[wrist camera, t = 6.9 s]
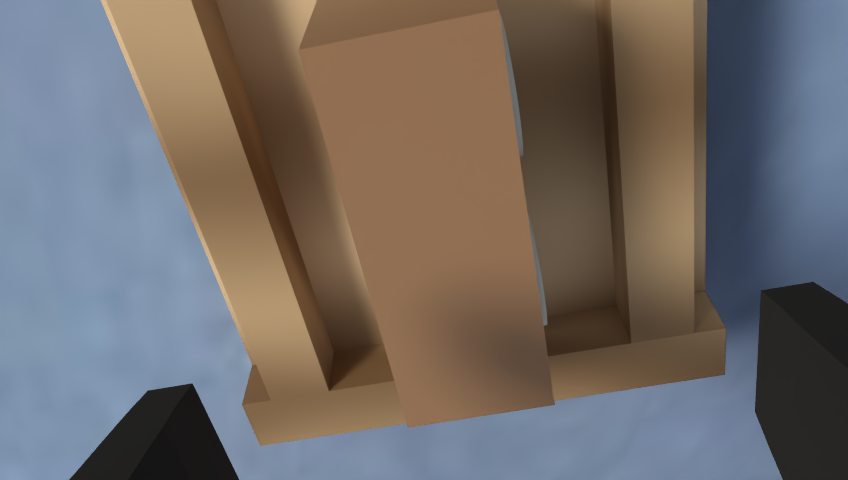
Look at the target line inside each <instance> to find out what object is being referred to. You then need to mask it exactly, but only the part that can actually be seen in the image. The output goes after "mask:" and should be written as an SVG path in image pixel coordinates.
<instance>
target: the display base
mask: <svg viewBox="0 0 848 480" xmlns="http://www.w3.org/2000/svg"><path fill="white" fill-rule="evenodd" d="M495 1H496V3H497V6H498V9H499V12H500V14H501V17H502V21H503V25H504V29H505V33H506V38H507V42H508V47H509V52H510V58H511V63H512V69H513V74H514V80H515V86H516V92H517V99H518V106H519V113H520V120H521V129H522V138H523V156H520V163H521V170H522V177H523V184H524V191H525V198H526V205H527V208H528V212H529V216H530V220H531V224H532V229H533V234H534V238H535V243H536V249H537V254H538V259H539V265H540V270H541V276H542V282H543V289H544V295H545V303H546V311H547V325H545V326H544V332H545V339H546V346H547V353H548V360H549V368H550V375H551V382H552V389H553V396H554V401H556V400H563V399H569V398H576V397H582V396H589V395H595V394H602V393H608V392H615V391H621V390H628V389H634V388H641V387H647V386H654V385H660V384H667V383H673V382H680V381H687V380H693V379H700V378H706V377H713V376H719V375H725V357H726V327H725V325H724V323H723V322H722V320H721V318H720V316H719V315H718V313H717V311H716V309H715V307H714V306H713V304H712V302H711V300H710V299H709V297H708V295H707V293H706V292H705V258H706V108H707V0H495ZM101 2H102V4H103V7H104V9H105V12H106V14H107V16H108V19H109V21H110V24H111V26H112V28H113V31H114V33H115V36H116V38H117V40H118V43H119V45H120V48H121V50H122V52H123V55H124V57H125V60H126V62H127V64H128V67H129V69H130V72H131V74H132V76H133V79H134V81H135V84H136V86H137V89H138V91H139V93H140V96H141V98H142V101H143V103H144V105H145V108H146V110H147V113H148V115H149V117H150V120H151V122H152V125H153V127H154V129H155V132H156V134H157V137H158V139H159V141H160V144H161V146H162V149H163V151H164V153H165V156H166V158H167V161H168V163H169V166H170V168H171V170H172V173H173V175H174V178H175V180H176V182H177V185H178V187H179V190H180V192H181V194H182V197H183V199H184V202H185V204H186V206H187V209H188V211H189V214H190V216H191V218H192V221H193V223H194V226H195V228H196V230H197V233H198V235H199V238H200V240H201V243H202V245H203V247H204V250H205V252H206V255H207V257H208V259H209V262H210V264H211V267H212V269H213V271H214V274H215V276H216V279H217V281H218V283H219V286H220V288H221V291H222V293H223V295H224V298H225V300H226V303H227V305H228V307H229V310H230V312H231V315H232V317H233V319H234V322H235V324H236V327H237V329H238V332H239V334H240V336H241V339H242V341H243V344H244V346H245V348H246V351H247V353H248V356H249V358H250V360H251V363H252V368H251V372H250V376H249V380H248V384H247V388H246V392H245V396H244V400H243V404H242V406H243V408H244V410H245V413H246V415H247V417H248V419H249V422H250V424H251V426H252V428H253V431H254V433H255V435H256V437H257V440H258V442H259V444H260V446H263V445H269V444H276V443H282V442H289V441H295V440H302V439H308V438H315V437H321V436H328V435H334V434H341V433H347V432H354V431H360V430H367V429H373V428H380V427H386V426H393V425H400V424H406V419H405V416H404V412H403V409H402V405H401V402H400V398H399V395H398V392H397V388H396V385H395V381H394V378H393V374H392V371H391V367H390V364H389V361H388V357H387V354H386V350H385V347H384V343H383V340H382V336H381V333H380V330H379V326H378V323H377V319H376V316H375V312H374V309H373V305H372V302H371V299H370V295H369V292H368V288H367V285H366V281H365V278H364V274H363V271H362V268H361V264H360V261H359V257H358V254H357V250H356V247H355V243H354V240H353V237H352V233H351V230H350V226H349V223H348V219H347V216H346V212H345V209H344V206H343V202H342V199H341V195H340V192H339V188H338V185H337V181H336V178H335V175H334V171H333V168H332V164H331V161H330V157H329V154H328V150H327V147H326V144H325V140H324V137H323V133H322V130H321V126H320V123H319V119H318V116H317V113H316V109H315V106H314V102H313V99H312V95H311V92H310V88H309V85H308V82H307V78H306V75H305V71H304V68H303V64H302V61H301V57H300V54H299V51H298V49H299V47H300V44H301V41H302V39H303V36H304V33H305V31H306V28H307V25H308V23H309V20H310V17H311V15H312V12H313V10H314V7H315V4H316V2H317V0H101Z"/></svg>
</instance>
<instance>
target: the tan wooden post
mask: <svg viewBox="0 0 848 480" xmlns="http://www.w3.org/2000/svg"><path fill="white" fill-rule="evenodd" d="M298 51H299V54H300V57H301V61H302V64H303V68H304V71H305V75H306V78H307V82H308V85H309V88H310V92H311V95H312V99H313V102H314V106H315V109H316V113H317V116H318V119H319V123H320V126H321V130H322V133H323V137H324V140H325V144H326V147H327V150H328V154H329V157H330V161H331V164H332V168H333V171H334V175H335V178H336V181H337V185H338V188H339V192H340V195H341V199H342V202H343V206H344V209H345V212H346V216H347V219H348V223H349V226H350V230H351V233H352V237H353V240H354V243H355V247H356V250H357V254H358V257H359V261H360V264H361V268H362V271H363V274H364V278H365V281H366V285H367V288H368V292H369V295H370V299H371V302H372V305H373V309H374V312H375V316H376V319H377V323H378V326H379V330H380V333H381V336H382V340H383V343H384V347H385V350H386V354H387V357H388V361H389V364H390V367H391V371H392V374H393V378H394V381H395V385H396V388H397V392H398V395H399V398H400V402H401V405H402V409H403V412H404V416H405V419H406V423H407V426H408V427H414V426H420V425H427V424H433V423H440V422H446V421H453V420H459V419H466V418H472V417H479V416H485V415H492V414H498V413H505V412H511V411H518V410H524V409H531V408H537V407H543V406H550V405H555V403H554V396H553V389H552V382H551V375H550V368H549V360H548V353H547V346H546V339H545V332H544V326H545V325H547V311H546V303H545V295H544V289H543V282H542V276H541V270H540V265H539V259H538V254H537V249H536V243H535V238H534V234H533V229H532V224H531V220H530V216H529V212H528V208H527V205H526V198H525V191H524V184H523V177H522V170H521V163H520V156H523V138H522V129H521V120H520V113H519V106H518V99H517V92H516V86H515V80H514V74H513V69H512V63H511V58H510V52H509V47H508V42H507V38H506V33H505V29H504V25H503V21H502V17H501V14H500V12H499V9H498V6H497V3H496V1H495V0H317V2H316V4H315V7H314V10H313V12H312V15H311V17H310V20H309V23H308V25H307V28H306V31H305V33H304V36H303V39H302V41H301V44H300V47H299V49H298Z"/></svg>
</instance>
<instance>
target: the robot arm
mask: <svg viewBox="0 0 848 480" xmlns="http://www.w3.org/2000/svg"><path fill="white" fill-rule="evenodd" d="M755 413H756V415H757V418H758V420H759V423H760V425H761V428H762V430H763V433H764V435H765V438H766V440H767V443H768V445H769V448H770V450H771V453H772V455H773V457H774V460H775V462H776V464H777V467H778V469H779V471H780V474H781V476H782V478H783V480H848V304H847V303H846V302H844V301H843V300H841V299H840V298H838V297H836V296H835V295H833V294H832V293H830V292H829V291H827V290H825V289H824V288H822V287H820V286H819V285H817V284H816V283H814V282H810V283H804V284H798V285H792V286H786V287H779V288H773V289H767V290H761V304H760V323H759V343H758V362H757V382H756V402H755ZM70 480H239V478H238V476H237V474H236V472H235V470H234V468H233V466H232V464H231V462H230V460H229V458H228V456H227V454H226V452H225V450H224V448H223V445H222V443H221V441H220V439H219V437H218V435H217V433H216V431H215V429H214V427H213V425H212V423H211V421H210V419H209V417H208V414H207V412H206V410H205V408H204V406H203V404H202V402H201V400H200V398H199V396H198V394H197V392H196V390H195V388H194V386H193V383H192V384H186V385H180V386H174V387H168V388H162V389H156V390H150V391H147V392H146V393H145V394H144V396H143V397H142V398H141V399H140V400H139V401H138V402H137V403H136V404H135V405H134V406H133V407H132V408H131V409H130V411H129V412H128V413H127V414H126V415H125V416H124V417H123V418H122V420H121V421H120V422H119V423H118V424H117V425H116V426H115V428H114V429H113V430H112V431H111V432H110V433H109V435H108V436H107V437H106V438H105V439H104V440H103V441H102V443H101V444H100V445H99V446H98V447H97V448H96V450H95V451H94V452H93V453H92V454H91V455H90V457H89V458H88V459H87V460H86V461H85V462H84V464H83V465H82V466H81V467H80V468H79V469H78V470H77V472H76V473H75V474H74V475H73V476H72V477H71V478H70Z"/></svg>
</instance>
